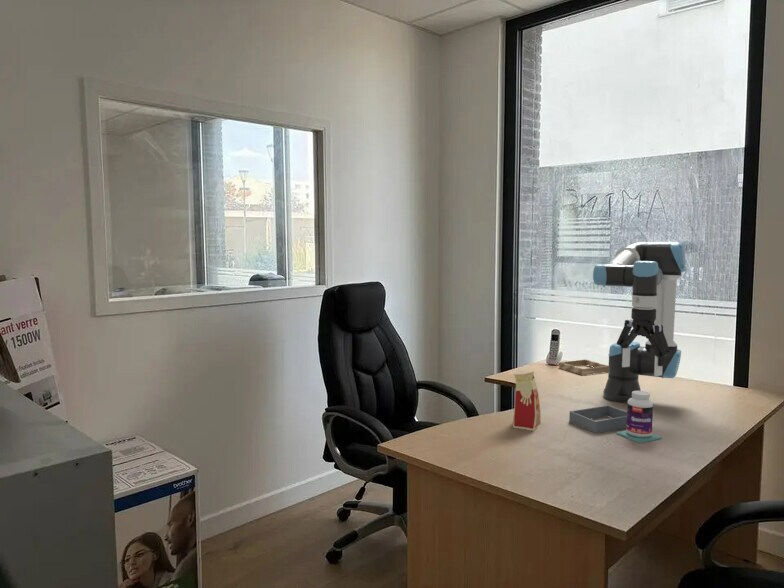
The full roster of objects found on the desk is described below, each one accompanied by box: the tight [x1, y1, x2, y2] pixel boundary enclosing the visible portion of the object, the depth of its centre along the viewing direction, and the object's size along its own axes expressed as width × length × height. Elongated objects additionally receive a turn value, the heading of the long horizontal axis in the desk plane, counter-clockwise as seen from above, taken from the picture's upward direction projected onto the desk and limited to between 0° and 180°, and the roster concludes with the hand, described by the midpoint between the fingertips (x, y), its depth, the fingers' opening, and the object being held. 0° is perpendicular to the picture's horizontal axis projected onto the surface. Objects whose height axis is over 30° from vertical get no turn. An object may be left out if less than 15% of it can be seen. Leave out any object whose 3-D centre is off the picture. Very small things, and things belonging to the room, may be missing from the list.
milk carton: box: [512, 370, 542, 432], centre depth 209 cm, size 9×9×20 cm
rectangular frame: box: [568, 404, 627, 434], centre depth 211 cm, size 13×18×4 cm
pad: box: [616, 429, 663, 444], centre depth 198 cm, size 10×10×1 cm
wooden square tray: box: [558, 358, 609, 376], centre depth 293 cm, size 17×17×3 cm
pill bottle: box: [625, 390, 654, 437], centre depth 197 cm, size 8×8×14 cm
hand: (641, 371), depth 196 cm, fingers open, 13 cm apart
